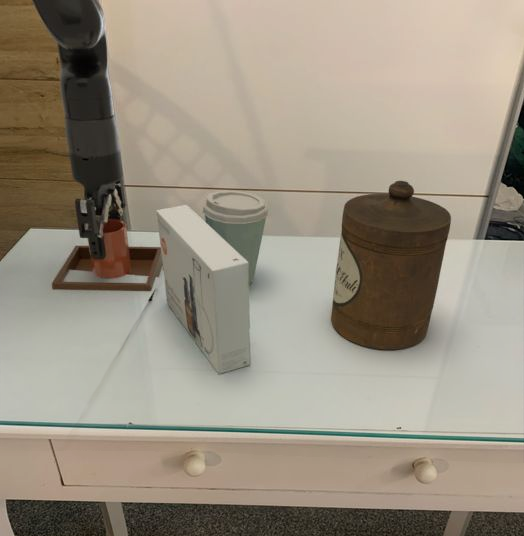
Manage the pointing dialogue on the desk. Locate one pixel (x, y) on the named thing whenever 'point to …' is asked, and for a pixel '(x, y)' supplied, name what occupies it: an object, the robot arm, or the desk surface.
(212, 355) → the skincare box
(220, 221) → the disposable coffee cup
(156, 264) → the tray
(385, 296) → the wooden container
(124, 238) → the cup
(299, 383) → the desk surface
